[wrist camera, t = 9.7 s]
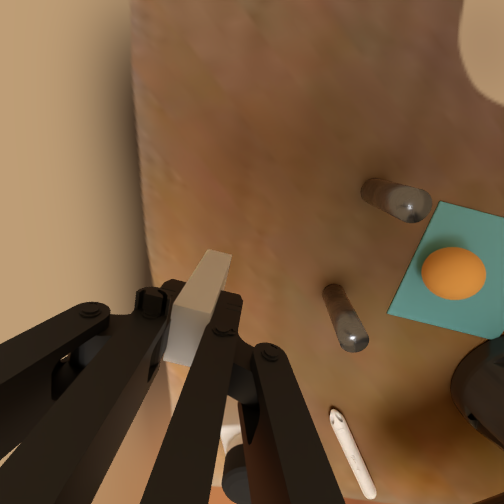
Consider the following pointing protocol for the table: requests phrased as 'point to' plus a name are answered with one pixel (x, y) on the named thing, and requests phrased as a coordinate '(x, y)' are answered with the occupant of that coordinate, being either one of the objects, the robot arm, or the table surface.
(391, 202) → the post
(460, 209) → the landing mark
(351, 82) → the table surface
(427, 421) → the table surface
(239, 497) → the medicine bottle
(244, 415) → the robot arm
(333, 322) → the post
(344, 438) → the marker
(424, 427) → the table surface
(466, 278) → the ball
